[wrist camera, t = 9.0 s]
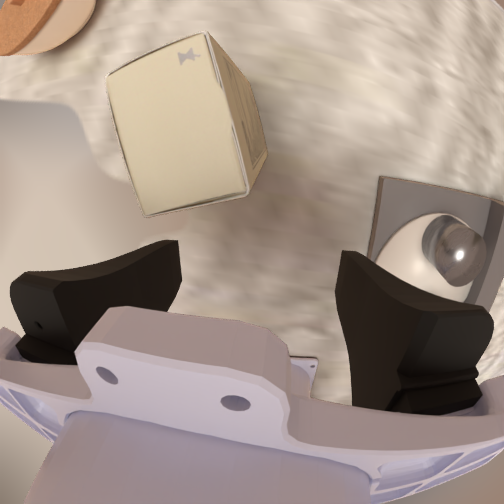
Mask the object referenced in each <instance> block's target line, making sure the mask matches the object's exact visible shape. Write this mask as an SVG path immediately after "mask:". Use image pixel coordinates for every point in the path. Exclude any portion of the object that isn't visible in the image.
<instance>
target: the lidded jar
mask: <svg viewBox="0 0 504 504" xmlns="http://www.w3.org/2000/svg"><path fill="white" fill-rule="evenodd" d="M95 6H96V0H6V1H5V3H4V5H3V6H2V8H1V10H0V56H10V55H32V54H38V53H42V52H46V51H48V50H51V49H53V48H55V47H57V46H59V45H61V44H62V43H64V42H65V41H66V40H68V39H70V38H71V37H73V36H74V35H76V34H77V33H78V32H79V31H80V30H81V29H82V28H83V27H84V26H85V25H86V24H87V22H88V21H89V19H90V18H91V16H92V14H93V12H94V10H95Z"/></svg>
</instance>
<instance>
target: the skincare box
mask: <svg viewBox="0 0 504 504" xmlns="http://www.w3.org/2000/svg"><path fill="white" fill-rule="evenodd" d="M105 85H106V93H107V98H108V104H109V108H110V113H111V119H112V122H113V126H114V130H115V133H116V137H117V141H118V144H119V148H120V151H121V154H122V158H123V161H124V164H125V167H126V170H127V173H128V177H129V180H130V182H131V185H132V188H133V190H134V193H135V196H136V199H137V201H138V204H139V207H140V209H141V212H142V214H143V216H144V217H145V218H150V217H154V216H158V215H163V214H168V213H173V212H177V211H183V210H188V209H193V208H196V207H202V206H206V205H212V204H216V203H221V202H225V201H230V200H235V199H239V198H243V197H246V196H247V195H249V193H250V190H251V188H252V186H253V184H254V182H255V180H256V178H257V176H258V174H259V172H260V170H261V168H262V166H263V163H264V161H265V159H266V157H267V155H268V152H267V147H266V142H265V138H264V134H263V129H262V125H261V121H260V118H259V114H258V110H257V106H256V103H255V99H254V96H253V93H252V90H251V86H250V84H249V82H248V80H247V79H246V78H245V76H244V75H243V74H242V73H241V71H240V70H239V69H238V67H237V66H236V65H235V64H234V63H233V61H232V60H231V59H230V57H229V56H228V55H227V54H226V53H225V51H224V50H223V49H222V48H221V47H220V45H219V44H218V43H217V42H216V41H215V39H214V38H213V37H212V36H211V35H210V34H209V33H208V32H207V31H200V32H197V33H194V34H192V35H189V36H186V37H183V38H180V39H177V40H175V41H172V42H170V43H167V44H164V45H162V46H160V47H157V48H155V49H153V50H151V51H148V52H146V53H144V54H142V55H140V56H138V57H136V58H134V59H132V60H130V61H128V62H126V63H124V64H123V65H121V66H120V67H118V68H116V69H115V70H113V71H111V72H110V73H108V74H107V75H106V76H105Z"/></svg>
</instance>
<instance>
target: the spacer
mask: <svg viewBox="0 0 504 504" xmlns="http://www.w3.org/2000/svg"><path fill="white" fill-rule="evenodd" d="M422 251H423V254H424V256H425V257H426V259H427V260H428V261H429V262H430V263H431V264H432V265H433V266H434V267H435V269H436V270H437V271H438V272H439V273H440V274H441V275H442V277H443V278H444V279H445V280H446V281H447V282H448V283H449V284H450V285H451V286H454V287H461V286H464V285H467V284H469V283H470V282H471V281H473V280H474V279H475V278H476V277H477V275H478V274H479V273H480V271H481V269H482V267H483V265H484V262H485V259H486V244H485V241H484V239H483V238H482V236H481V235H479V234H478V233H476V232H475V231H474V230H472V229H471V228H469V227H468V226H466V225H465V224H463V223H462V222H460V221H459V220H457V219H456V218H454V217H453V216H450V215H441V216H438V217H436V218H435V219H434V220H432V221H431V222H430V223H429V225H428V226H427V228H426V229H425V231H424V234H423V237H422Z"/></svg>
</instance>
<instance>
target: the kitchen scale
mask: <svg viewBox="0 0 504 504" xmlns="http://www.w3.org/2000/svg"><path fill="white" fill-rule="evenodd" d="M441 215H450V216H453V217H454V218H456V219H457V220H459V221H460V222H462V223H463V224H465V225H466V226H468V227H469V228H471V229H472V230H474V231H475V232H476V233H478V234H479V235H481V236H482V238H483V239H484V241H485V244H486V259H485V262H484V265H483V267H482V269H481V271H480V273H479V274H478V275H477V277H476V278H475V279H474V280H473V281H471V282H470V283H469V284H467V285H464V286H461V287H454V286H451V285H450V284H449V283H448V282H447V281H446V280H445V279H444V278H443V277H442V275H441V274H440V273H439V272H438V271H437V270H436V269H435V267H434V266H433V265H432V264H431V263H430V262H429V261H428V260H427V259H426V257H425V256H424V254H423V251H422V237H423V234H424V231H425V229H426V228H427V226H428V225H429V223H430V222H431V221H432V220H434V219H435V218H436V217H438V216H441ZM367 258H368V259H370V260H371V261H373V262H374V263H376V264H377V265H379V266H380V267H382V268H383V269H385V270H386V271H388V272H389V273H391V274H393V275H394V276H396V277H398V278H399V279H401V280H403V281H405V282H407V283H409V284H411V285H413V286H415V287H417V288H420V289H422V290H424V291H427V292H429V293H432V294H435V295H438V296H441V297H444V298H447V299H451V300H455V301H458V302H463V303H469V304H474V305H480V306H483V307H484V308H485V309H486V310H487V312H488V313H489V311H490V309H491V307H492V304H493V302H494V300H495V297H496V295H497V293H498V291H499V290H500V287H501V282H502V280H503V277H504V202H502V201H499V200H495V199H491V198H488V197H484V196H480V195H476V194H472V193H468V192H463V191H459V190H455V189H450V188H445V187H441V186H436V185H430V184H425V183H420V182H414V181H408V180H402V179H396V178H390V177H383V176H380V177H379V186H378V194H377V201H376V208H375V215H374V221H373V227H372V233H371V239H370V244H369V249H368V255H367Z"/></svg>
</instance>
